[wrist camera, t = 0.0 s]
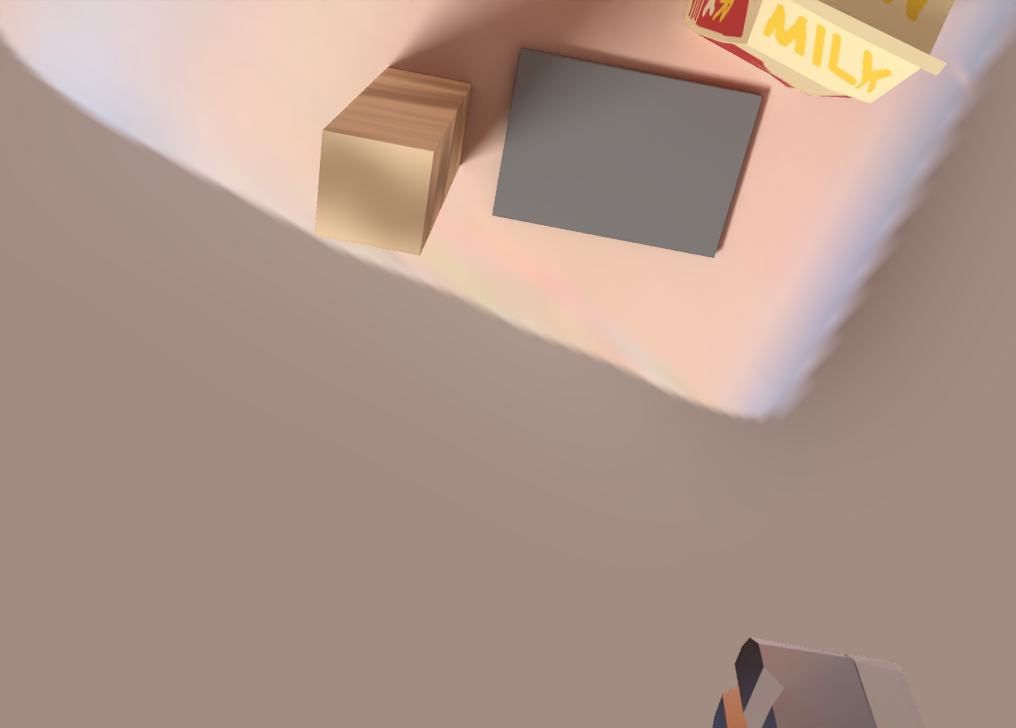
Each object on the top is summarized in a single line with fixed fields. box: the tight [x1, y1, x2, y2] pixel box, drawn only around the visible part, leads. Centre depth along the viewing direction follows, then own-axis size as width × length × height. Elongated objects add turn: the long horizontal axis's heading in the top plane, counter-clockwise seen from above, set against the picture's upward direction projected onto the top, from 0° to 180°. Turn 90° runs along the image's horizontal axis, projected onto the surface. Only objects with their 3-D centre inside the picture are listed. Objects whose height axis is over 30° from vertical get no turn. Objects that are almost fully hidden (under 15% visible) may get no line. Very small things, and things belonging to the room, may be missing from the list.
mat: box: [492, 48, 762, 258], centre depth 55 cm, size 10×14×1 cm
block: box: [315, 67, 472, 255], centre depth 49 cm, size 5×5×15 cm
